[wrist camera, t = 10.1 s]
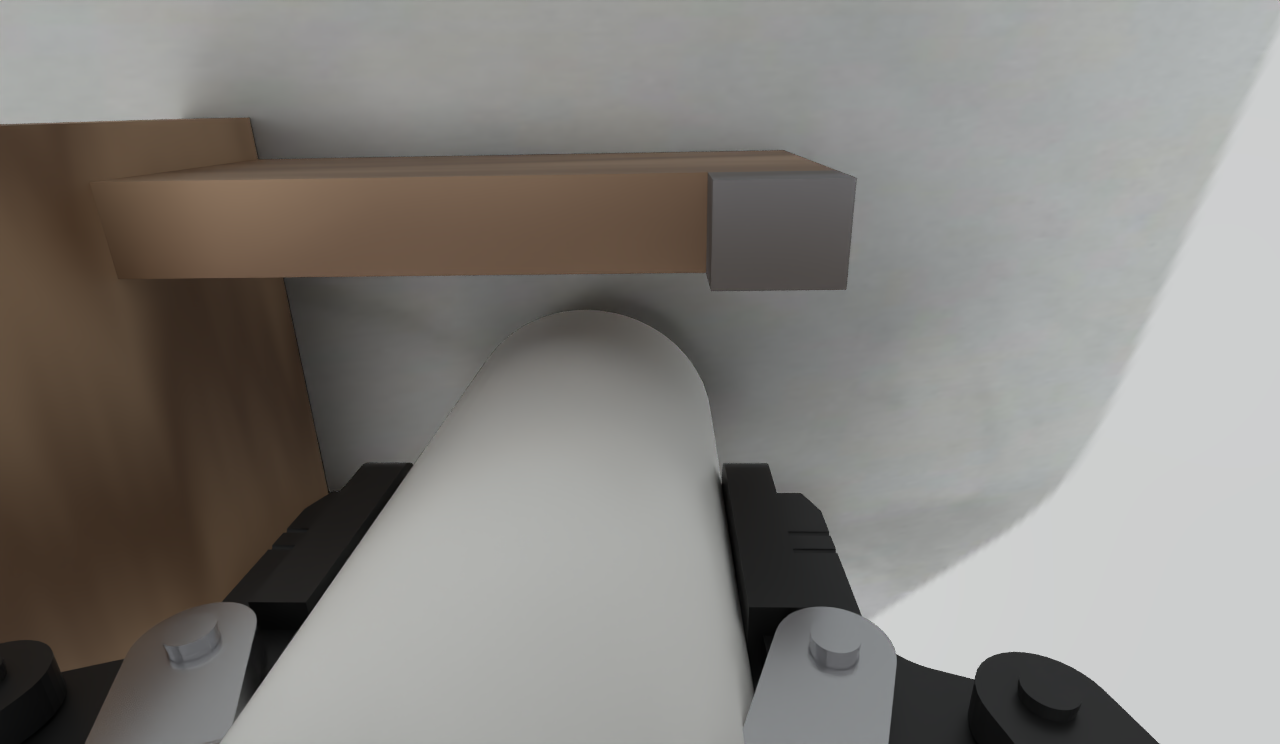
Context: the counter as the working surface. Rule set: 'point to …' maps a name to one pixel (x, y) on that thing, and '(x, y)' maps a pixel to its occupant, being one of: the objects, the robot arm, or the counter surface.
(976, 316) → the counter surface
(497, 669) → the roll
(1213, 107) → the counter surface
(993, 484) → the counter surface
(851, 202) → the holder
